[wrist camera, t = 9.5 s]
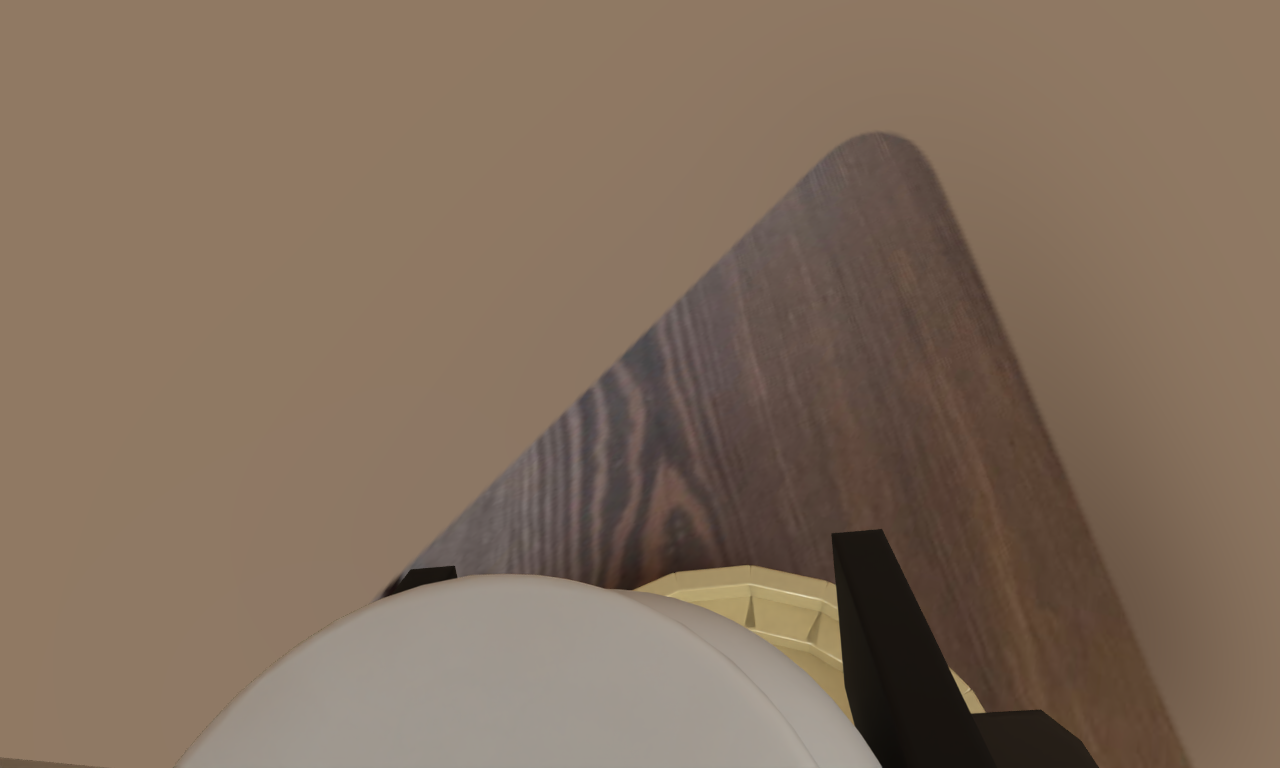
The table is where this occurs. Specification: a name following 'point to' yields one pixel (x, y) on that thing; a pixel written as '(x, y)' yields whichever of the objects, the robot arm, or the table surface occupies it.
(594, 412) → the table surface
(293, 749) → the pill bottle
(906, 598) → the robot arm
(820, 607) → the beige shallow round dish
